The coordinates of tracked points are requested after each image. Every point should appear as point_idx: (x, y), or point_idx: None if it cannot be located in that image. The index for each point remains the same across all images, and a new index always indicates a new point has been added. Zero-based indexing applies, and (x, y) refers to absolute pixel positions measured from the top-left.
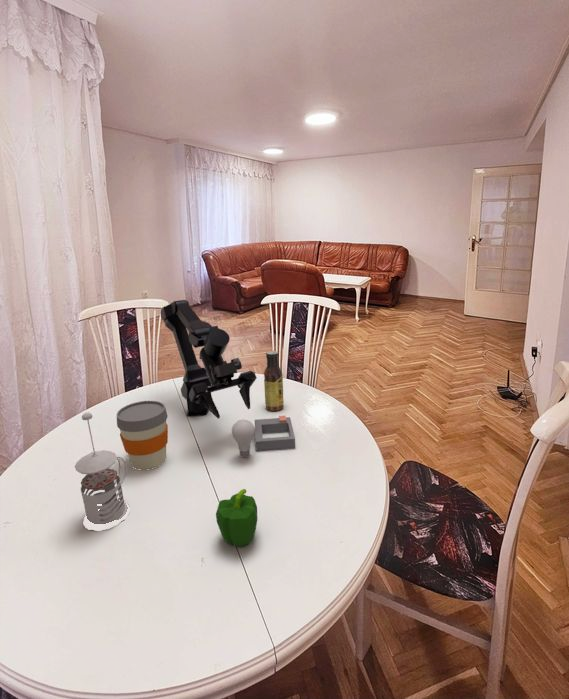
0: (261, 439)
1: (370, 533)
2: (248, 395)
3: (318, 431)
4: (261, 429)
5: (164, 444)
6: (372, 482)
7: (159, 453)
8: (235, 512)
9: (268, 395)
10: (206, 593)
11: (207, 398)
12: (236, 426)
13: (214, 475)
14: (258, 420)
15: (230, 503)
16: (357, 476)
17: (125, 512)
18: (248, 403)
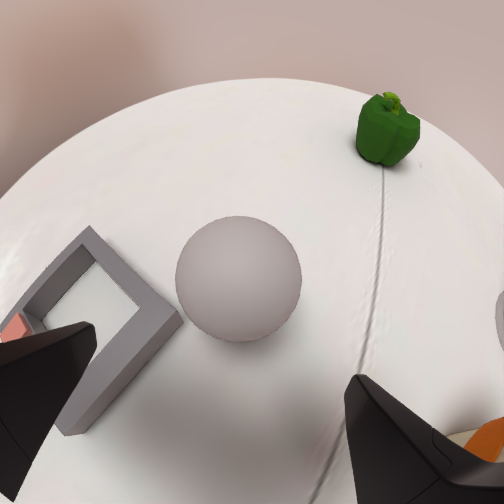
0: (149, 304)
1: (235, 81)
2: (7, 348)
3: (17, 255)
4: (95, 359)
5: (470, 444)
6: (142, 108)
7: (466, 437)
8: (400, 106)
9: None
10: (419, 142)
11: (493, 467)
12: (289, 258)
13: (360, 308)
14: (58, 417)
15: (403, 116)
16: (138, 121)
17: (502, 304)
18: (69, 332)
